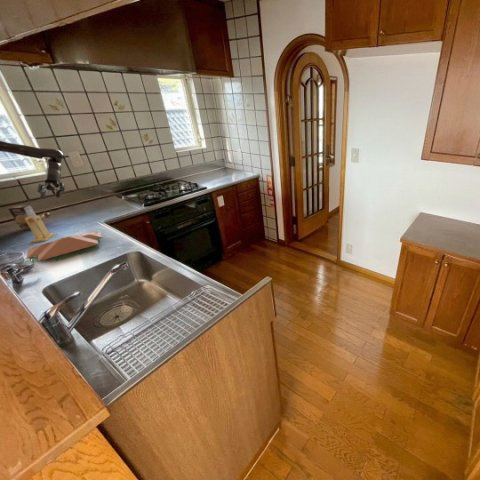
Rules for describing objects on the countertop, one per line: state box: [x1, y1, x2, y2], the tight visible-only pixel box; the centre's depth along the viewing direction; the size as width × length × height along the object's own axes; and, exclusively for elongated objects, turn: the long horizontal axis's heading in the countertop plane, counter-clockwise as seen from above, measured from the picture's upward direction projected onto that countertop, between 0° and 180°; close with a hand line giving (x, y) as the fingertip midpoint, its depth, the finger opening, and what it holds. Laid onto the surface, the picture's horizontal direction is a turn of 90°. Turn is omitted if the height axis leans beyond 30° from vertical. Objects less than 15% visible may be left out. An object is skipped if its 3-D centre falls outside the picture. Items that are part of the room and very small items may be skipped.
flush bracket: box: [25, 214, 57, 243], centre depth 164 cm, size 10×8×15 cm
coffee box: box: [8, 204, 37, 231], centre depth 180 cm, size 9×6×16 cm
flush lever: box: [29, 212, 51, 222], centre depth 167 cm, size 14×4×4 cm, turn 12°
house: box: [26, 231, 103, 262], centre depth 150 cm, size 23×33×8 cm
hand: (50, 197), depth 177 cm, fingers open, 8 cm apart
